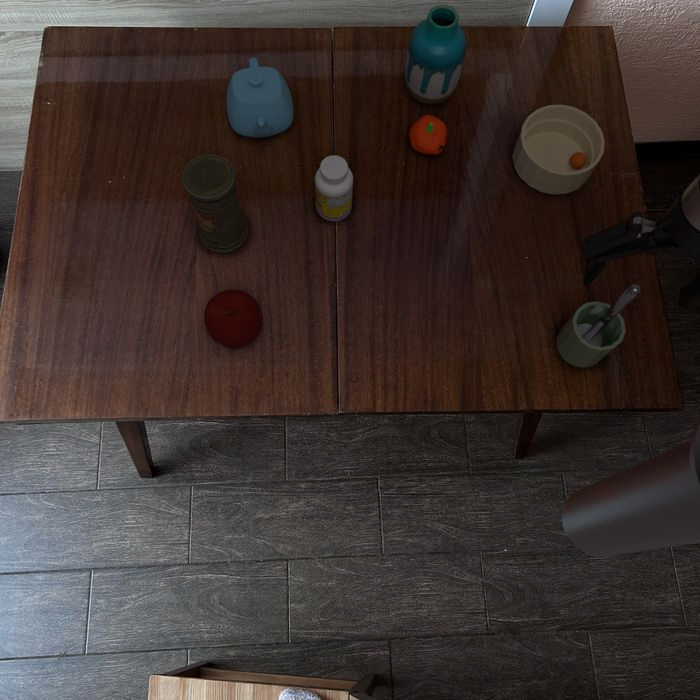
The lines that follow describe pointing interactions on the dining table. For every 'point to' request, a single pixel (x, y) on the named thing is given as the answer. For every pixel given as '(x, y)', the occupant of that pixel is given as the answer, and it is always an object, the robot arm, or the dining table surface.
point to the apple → (233, 319)
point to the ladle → (607, 317)
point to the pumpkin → (428, 135)
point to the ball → (578, 160)
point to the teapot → (259, 101)
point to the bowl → (557, 148)
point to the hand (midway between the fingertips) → (634, 288)
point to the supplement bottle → (333, 188)
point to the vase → (435, 56)
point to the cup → (578, 348)
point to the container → (215, 203)
